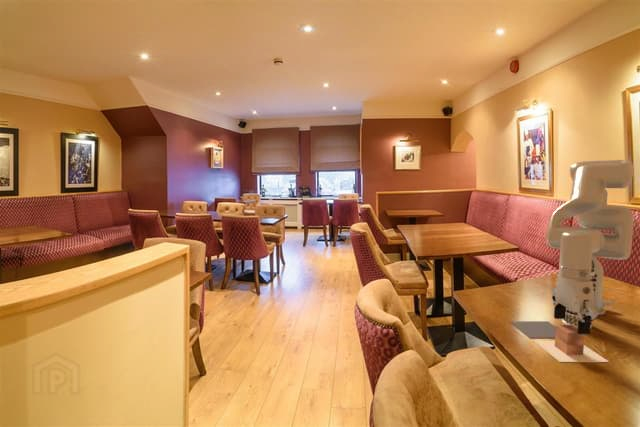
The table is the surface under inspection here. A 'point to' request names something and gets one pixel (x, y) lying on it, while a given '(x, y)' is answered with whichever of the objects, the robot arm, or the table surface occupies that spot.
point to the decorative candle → (572, 316)
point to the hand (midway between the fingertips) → (570, 325)
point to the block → (569, 340)
